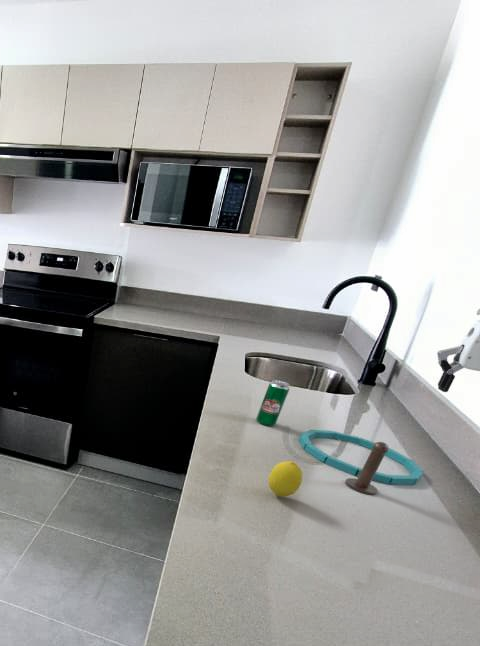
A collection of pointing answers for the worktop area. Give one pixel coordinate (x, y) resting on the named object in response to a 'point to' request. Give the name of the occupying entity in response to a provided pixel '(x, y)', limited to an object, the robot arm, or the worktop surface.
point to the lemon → (285, 479)
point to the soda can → (273, 402)
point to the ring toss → (369, 470)
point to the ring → (380, 477)
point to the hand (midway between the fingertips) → (467, 395)
